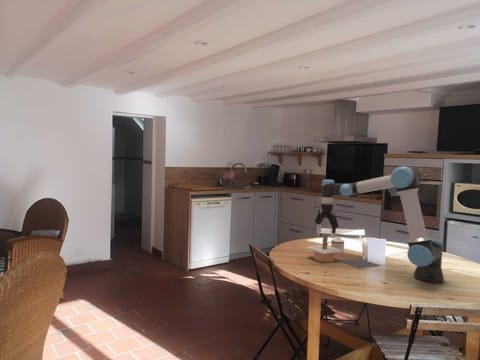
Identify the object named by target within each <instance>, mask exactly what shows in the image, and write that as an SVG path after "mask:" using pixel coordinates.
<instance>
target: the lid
mask: <svg viewBox="0 0 480 360" xmlns="http://www.w3.org/2000/svg"><path fill="white" fill-rule="evenodd" d="M328 236H329V235H328V234H324V233H323V234H322V244H321V245H320V244H319V245H312V246H311V245H310V246H306V247H307V249H309V250H311V251H313V252H314V251H316V252H319V253H321V254H329V253H339V252H343V251H342V250H339V249H337V248H334V247H331V245H329V244H328V245H327V243H328V238H329V237H328Z"/></svg>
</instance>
